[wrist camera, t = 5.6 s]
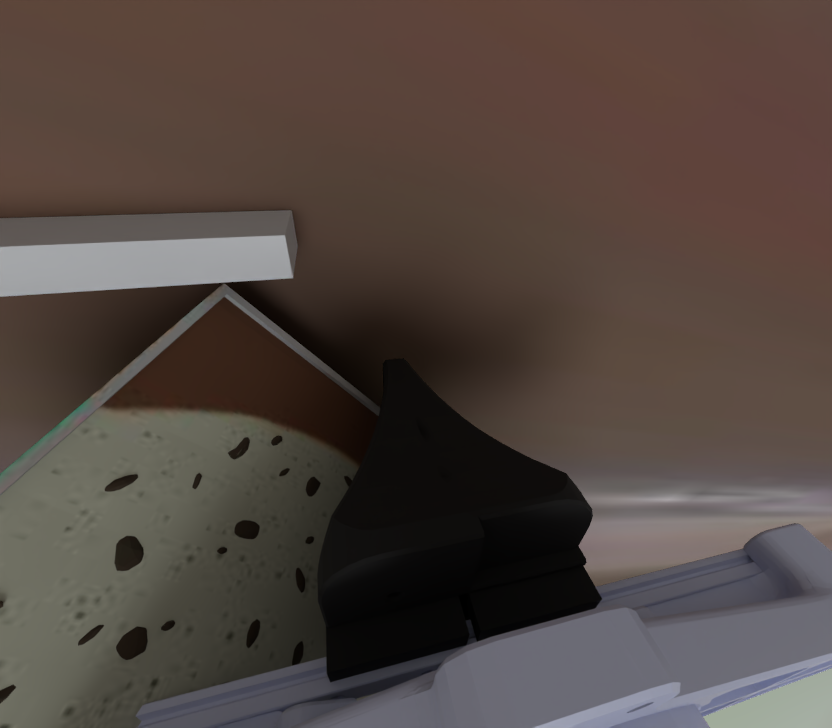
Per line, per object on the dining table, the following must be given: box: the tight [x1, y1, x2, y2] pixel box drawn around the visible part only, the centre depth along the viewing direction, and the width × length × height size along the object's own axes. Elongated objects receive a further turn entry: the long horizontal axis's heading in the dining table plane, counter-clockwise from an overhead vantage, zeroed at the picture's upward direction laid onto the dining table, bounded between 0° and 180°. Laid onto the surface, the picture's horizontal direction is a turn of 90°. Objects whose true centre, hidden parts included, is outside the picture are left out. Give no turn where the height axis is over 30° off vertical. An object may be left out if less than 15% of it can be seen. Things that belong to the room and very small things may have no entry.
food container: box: [0, 283, 380, 728], centre depth 10 cm, size 12×6×10 cm, turn 37°
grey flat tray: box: [0, 210, 298, 297], centre depth 10 cm, size 14×16×5 cm
